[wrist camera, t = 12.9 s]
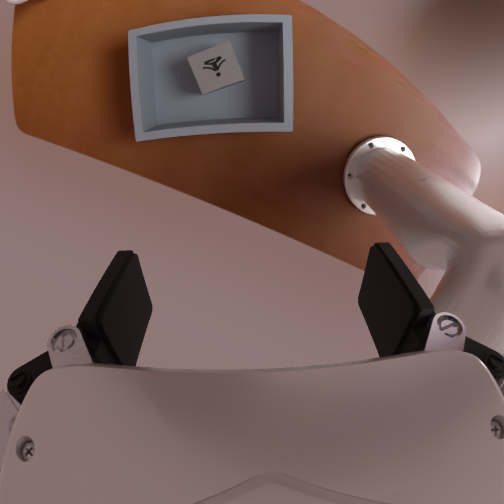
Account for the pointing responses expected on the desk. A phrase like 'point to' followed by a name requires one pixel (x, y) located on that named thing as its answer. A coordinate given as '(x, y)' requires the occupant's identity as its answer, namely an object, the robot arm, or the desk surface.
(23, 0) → the lightbulb
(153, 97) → the box
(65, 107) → the desk surface
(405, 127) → the desk surface
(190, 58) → the dice cube
